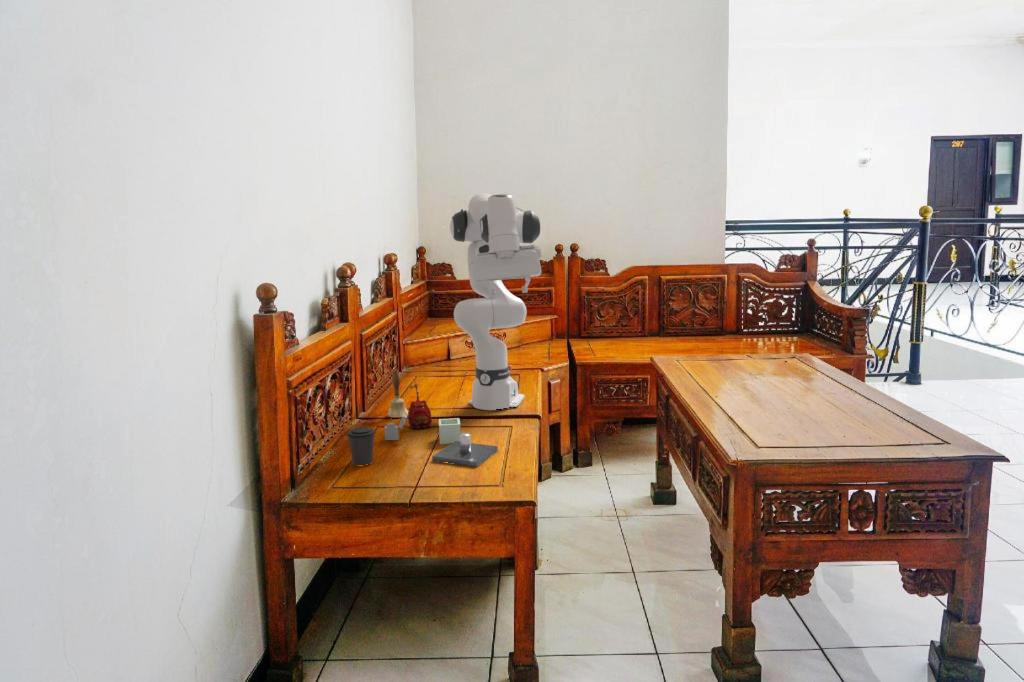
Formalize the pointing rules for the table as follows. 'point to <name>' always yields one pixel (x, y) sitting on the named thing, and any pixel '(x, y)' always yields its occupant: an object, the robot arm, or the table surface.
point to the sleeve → (449, 430)
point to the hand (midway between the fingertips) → (509, 294)
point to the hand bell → (397, 399)
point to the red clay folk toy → (419, 413)
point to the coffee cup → (361, 445)
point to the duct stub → (465, 452)
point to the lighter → (394, 429)
